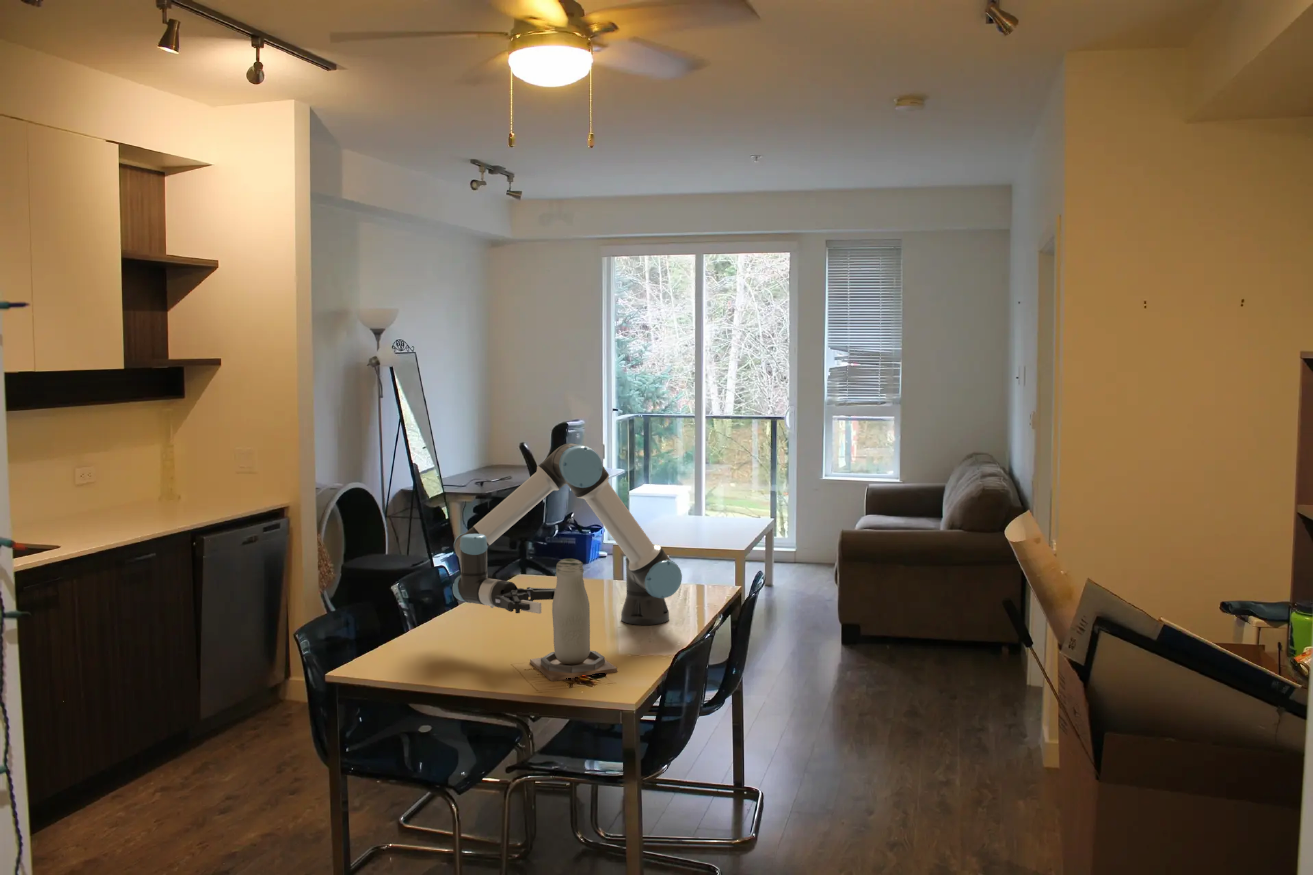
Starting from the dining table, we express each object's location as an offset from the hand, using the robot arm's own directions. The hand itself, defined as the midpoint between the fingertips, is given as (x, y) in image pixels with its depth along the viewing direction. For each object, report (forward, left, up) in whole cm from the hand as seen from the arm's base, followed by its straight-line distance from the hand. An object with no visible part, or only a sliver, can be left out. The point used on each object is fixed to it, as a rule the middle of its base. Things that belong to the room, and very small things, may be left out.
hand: (557, 603), depth 262 cm
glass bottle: (-2, +4, -16) cm, 16 cm away
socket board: (-3, +4, -17) cm, 17 cm away
